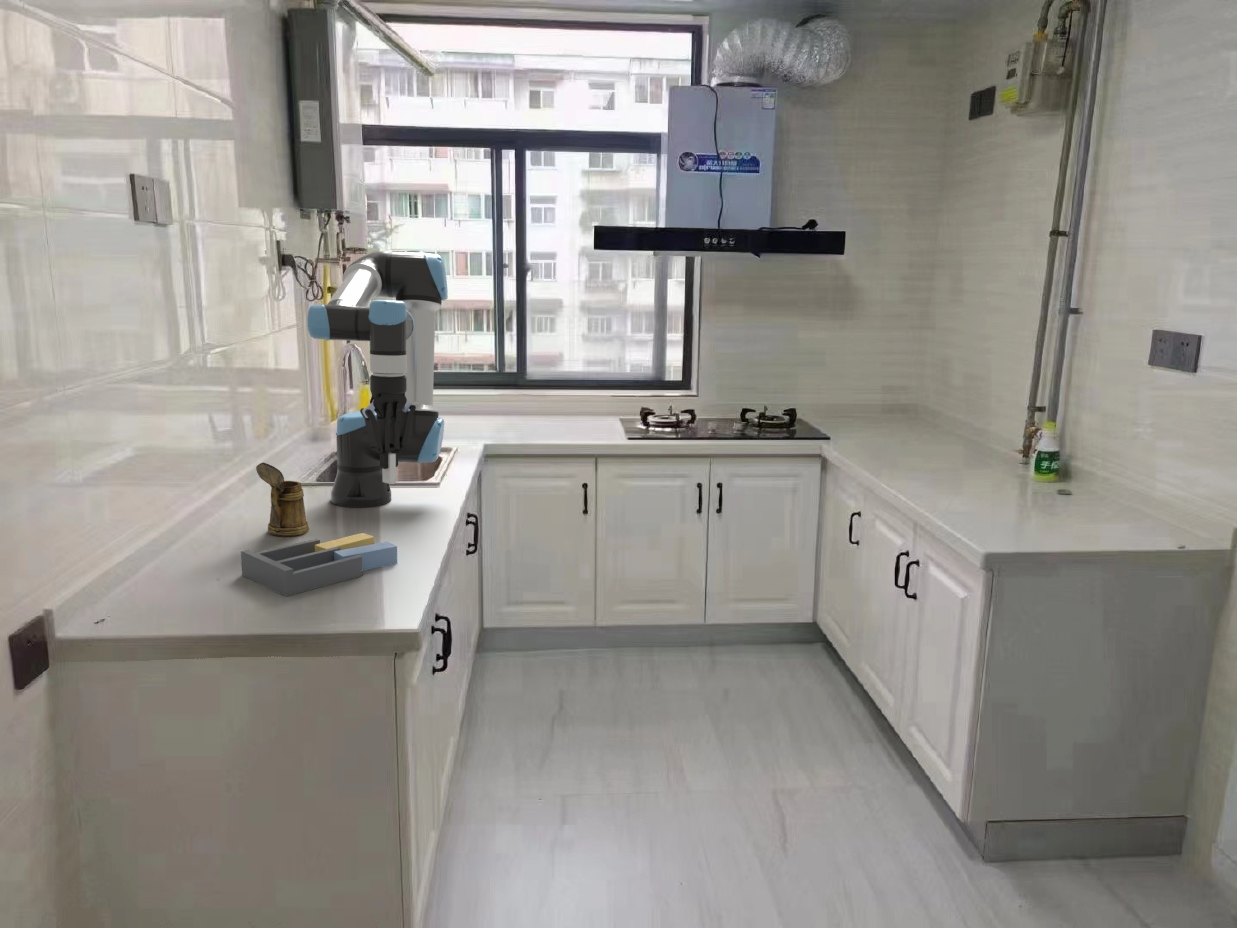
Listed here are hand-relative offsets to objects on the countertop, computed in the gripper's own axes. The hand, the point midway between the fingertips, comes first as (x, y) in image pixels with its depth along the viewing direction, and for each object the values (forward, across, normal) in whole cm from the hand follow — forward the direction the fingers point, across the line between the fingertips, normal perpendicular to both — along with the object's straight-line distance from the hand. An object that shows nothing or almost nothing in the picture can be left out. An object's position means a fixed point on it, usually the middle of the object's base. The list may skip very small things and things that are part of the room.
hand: (389, 482), depth 196 cm
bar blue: (+15, +11, +7) cm, 20 cm away
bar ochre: (+15, +11, 0) cm, 19 cm away
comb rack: (+15, +24, +3) cm, 28 cm away
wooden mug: (+15, +12, -24) cm, 30 cm away
